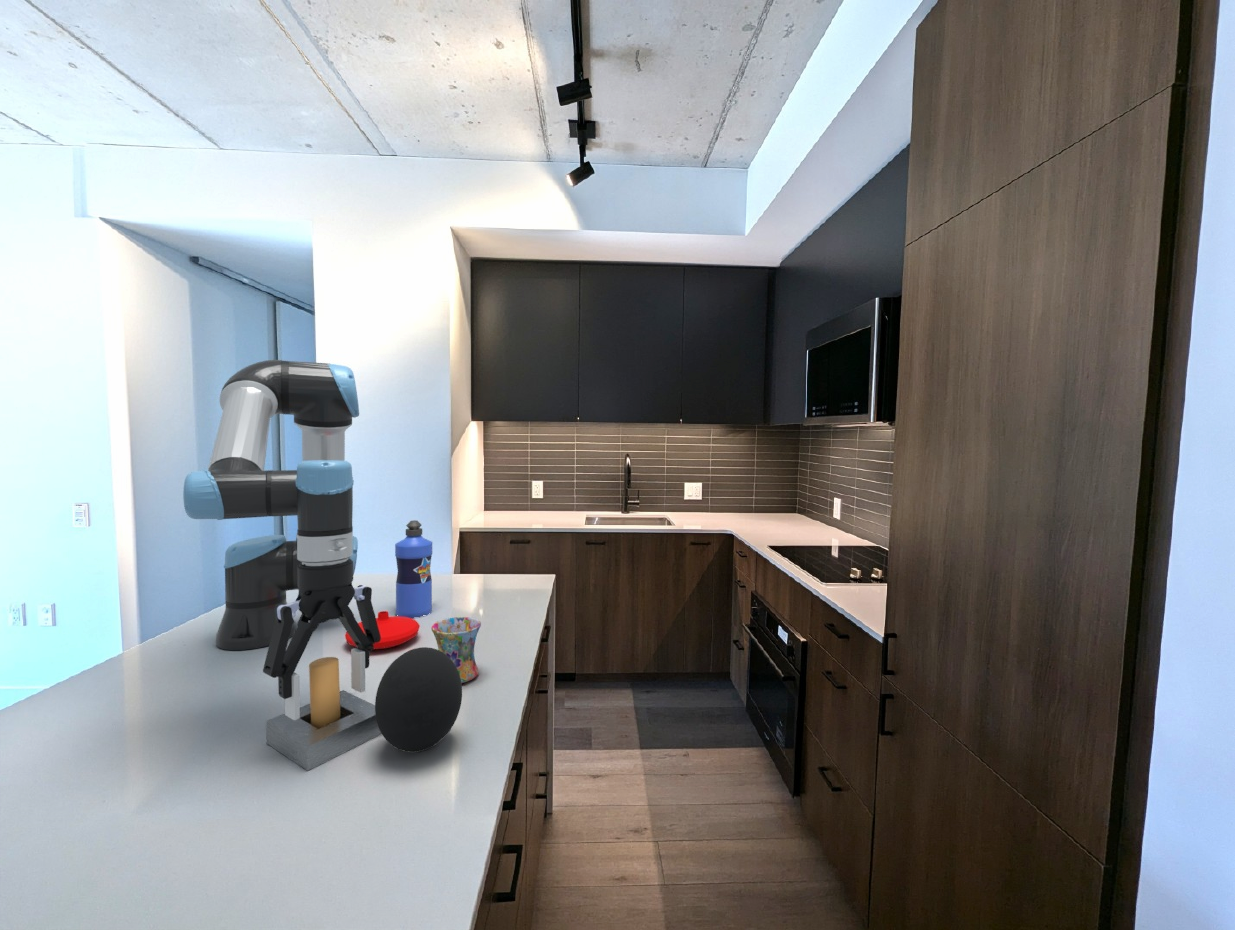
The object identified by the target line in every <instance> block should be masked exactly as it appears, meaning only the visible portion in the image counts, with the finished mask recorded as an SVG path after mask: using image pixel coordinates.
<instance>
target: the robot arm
mask: <svg viewBox="0 0 1235 930" xmlns="http://www.w3.org/2000/svg"><path fill="white" fill-rule="evenodd" d="M219 404H220V407H221V410H222V413H221V417H220V421H219V425H218V429H217V433H216V437H215V440H214V445H213V448H212V453H211V457H210V459H209V460H210V461H209V464H208V467H207V469H203V470H200V471H198V470H197V471H191V472H190V473H188V474H186V476H185V479H184V482H183V493H182V495H183V497H182V499H183V505H184V506H183V507H184V511H185V513H186V516H188V517H189V518H191V519H193V520H216V521H220V520H233V519H250V518H264V517H266V518H267V517H287V516H291V517H292V516H296V517H297V522H296V523H297V531H296V532H297V533H296V534H295V535H296V536H295V540H287V538H286V536H285V535H283V534H271V535H263V536H258V537H253V538H248V539H244V540H241V541H237V542H235V543H233V544H231V545H228V547H227V548H226V550H225V553H224V554H225V555H224V565H223V569H224V583H225V585H224V586H225V588H224V590H225V594H224V595H225V596H224V600H225V610H224V613H223V616H222V618H221V621H220V624H219V626H218V629H217V632H216V636H215V639H216V640H215V641H216V644H215V645H216V647H217V648H219V649H222V650H225V651H226V650H227V651H245V650H246V651H247V650H252V649H259V648H264V647H268V648H267V653H266V656H265V661H264V665H263V668H262V672H263V673H264V674H265V675H267V676H269V677H271V678H272V679H273V678H274V679H275V678H278V679H277V681H278V683H277V684H278V686H277V688H278V696H279V697H280V698H282V699H283V700H284V714H285V715H286V716H288V717H289V718H291V719H293V720H297V719H299V718H300V707H301V703H300V701H301V700H300V698H301V697H300V696H301V695H300V674H298V673H297V672H295V671H296V669H297V668H298V667H297V666H298V665H299V662H300V660H301V658H302V656H303V654H304V652H305V650H306V648H307V646H308V644H309V642H310V641H311V640H310V639H311V637H312V635H313V633H314V632H315V631H316V630H317V629H318V627H319V625H320V624H323V623H327V622H328V621H330V620H338V621H339V622H340V624H341V625H342V627H343V628H344V629H345V632H348V634H349V636H350V637H351V639H352V640H353V642H354V643H355V645H356V646H357V647H356V646H355V648H351V650H350V652H351V653H350V654H351V655H350V666H351V669H350V670H351V672H350V674H351V675H350V676H351V679H350V680H351V689H352V690H354V691H355V692H356V691H357V692H358V693H364V692H366V669H368V668H369V667H370V652H371V651H373V650H374V649H373V648H374V645H373V644H374V643H378V642H379V641H380V640H381V636H380V632H379V628H378V624H377V621H376V618H377V617H376V613H375V610H374V606H373V603H372V594H373V593H372V591H373V590H372V587H370V586H367V585H362V584H359V585H358V586H356V587H353V582H354V576H355V575H354V574H355V571H356V566H357V559H358V548H359V547H358V545H359V543H358V542H359V541H358V538H357V536H354V534H353V529H354V528H353V527H354V526H353V508H354V507H353V502H354V500H353V496H354V495H353V494H354V493H353V492H354V491H353V486H354V482H355V481H354V477H353V467H352V464H351V462H349V461H348V460H345V459H346V458H345V457H346V454H345V453H346V444H345V443H346V435H345V434H346V431H347V430H349V428H350V427H351V426H353V418H354V419H355V418H358V417H360V408H359V398H358V391H357V385H356V379H355V375H354V371H353V370H352V369H351V368H350V367H349V366H346V365H341V364H335V363H328V362H327V363H325V362H312V361H311V362H309V361H296V360H295V361H293V360H292V361H291V360H282V359H281V360H280V359H268V360H263V361H259V362H258V361H257V362H255V363H253V364H250V365H248V366H245V367H243V368H241V369H240V370H238V371H236V373H234V374H233V375H231V377H229V378H228V380H226V382H225V383H224V384H223V386H222V388H221V392H220V395H219ZM274 415H293V423H294V425H296V426H297V427H298V428H299V429H300V430H301V443H302V444H301V445H302V446H301V450H302V451H301V455H302V457H301V458H302V460H301V461H300V462H299V463H298V464H297V466H296V469H294V470H293V469H286V470H272V469H271V470H265V467H266V466H265V465H266V457H267V450H268V449H267V448H268V440H269V439H268V438H269V431H270V424H271V423H270V422H271V418H272V417H274ZM296 590H298V594H297V597H296V599H295V601H292V602H289V603H288V602H287V592H288V591H296ZM353 599H354V600H355V603H356V604H355V605H356V608H357V611H358V613H359V617H360V622H362V625H363V629H364V632H365V634H364V632H363V631H362V629H361V627H360V626H359V624H358V623H359V622H358V621H357V619H356V618H355V614H354V612H353V611H352V609H351V608H350V606H349V605H350V603H351V601H352V600H353ZM297 611H299V612H301V614H300V617H299V619H298V621H297V623H296V621H295V620H294V619H295V617H296V616H297V614H296V613H297ZM296 624H297V626H296ZM289 639H290V641H289Z"/></svg>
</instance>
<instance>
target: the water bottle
mask: <svg viewBox="0 0 1235 930" xmlns="http://www.w3.org/2000/svg"><path fill="white" fill-rule="evenodd" d="M405 526H406V527H407V528H406V529H405V538H404V539H402V540H400V541H397V542H396V543H395V545H394V546H395V547H394V551H395V553H394V557H395V560H396V568H397V569H396V570H397V574H396V579H395V580H396V581H395V615H398V616H401V617H408V618H412V619H415V618H414V617H419V618H421V617H420V616H423V615H426V616H429V615H430V614H432V612H433V611H432V610H433V607H432V606H433V603H432V602H433V601H432V600H433V590H432V589H433V583H432V582H433V581H432V580H433V579H432V574H431V564H432V556H433V541H432V540H429V539H427V538H425V537H423V536H422V535H423V528H421V526H422V523H420V521H418V520H415V519H414V520H410V521H409V522H408V523H407V524H406V525H405ZM431 611H432V612H431ZM429 613H430V614H429ZM428 614H429V615H428ZM423 617H424V616H423Z"/></svg>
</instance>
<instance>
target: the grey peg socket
mask: <svg viewBox="0 0 1235 930" xmlns="http://www.w3.org/2000/svg"><path fill="white" fill-rule="evenodd" d="M340 717H341V719H340V720H338V721H336V722H333V723H331V724H329V725H327V726H324V727H322V728H320V729H317V728H316V727H314V726H312V725H311V706H310V703H308V704H305V705H303V706H300V718H299V719H297V720H293V719H291V718H289V717H288V716H286V715H285V713H282V714H281V715H278V716H275V717H273V718H270V719H268V720H265V724H266V727H265V728H266V729H265V730H266V732H265V733H266V744H267V745H268V746H270V747H272V748H273V749H275V750H276V751H277V752H279V753H280V754H282V755H284V756H285V757H287V758H288V759H289V760H291V761H292V762H293V763H295V764H297V765H298V766H300V767H301V768H303V769H304V770H306V771H310V770H312V769H314V768H316V767H318V766H321V765H322V764H324V763H326V762H328V761H330V760H332V759H334V758H336V757H338V756H340V755H342V754H344V753H345V752H348V751H350V750H352V749H354V748H356V747H358V746H360V745H362V744H364V743H366V742H368V741H370V740H372V739H374V738H375V737H378V736H379V735H382V734H381V732H380V730H379V727H378V724H377V721H376V714H375V704H373V703H371V702H369V701H367V700H365V699H363V698H361V697H359V696H357V695H355V694H353V693H351V692H348V691H346V690H344V689H343V690H341V691H340Z"/></svg>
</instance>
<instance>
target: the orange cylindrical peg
mask: <svg viewBox="0 0 1235 930" xmlns="http://www.w3.org/2000/svg"><path fill="white" fill-rule="evenodd" d="M339 661H340V660H339V658H338V657H336V656H326V657H325V656H324V657H322V658H321V657H320V658H317V659H314V660H313V661H311V662H310V663H309V665H308V673H309V674H308V676H309V697H310V698H309V704H310V706H311V725H312V726H314V727H316V728H317V729H320V728H322V727H324V726H327V725H329V724H331V723H333V722H336V721H338V720H340V719H341V717H340V688H341V687H340V666H339V665H340V664H339Z"/></svg>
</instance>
